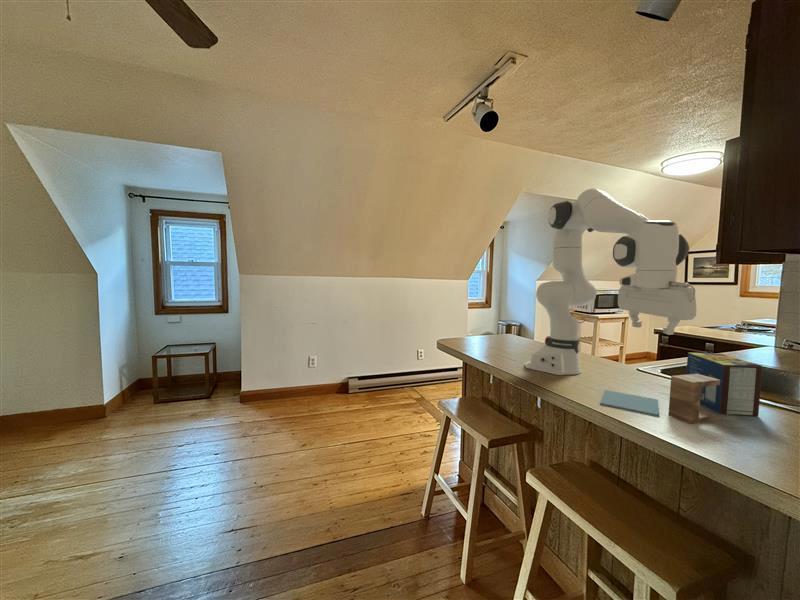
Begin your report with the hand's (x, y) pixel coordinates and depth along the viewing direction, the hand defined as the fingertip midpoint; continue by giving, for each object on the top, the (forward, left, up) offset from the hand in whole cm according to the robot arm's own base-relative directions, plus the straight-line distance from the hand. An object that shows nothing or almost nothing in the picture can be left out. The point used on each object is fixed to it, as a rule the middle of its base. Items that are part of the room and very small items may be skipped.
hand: (651, 330), depth 91 cm
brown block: (+11, +12, -26) cm, 31 cm away
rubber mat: (-4, +15, -26) cm, 31 cm away
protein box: (+19, +30, -27) cm, 44 cm away
